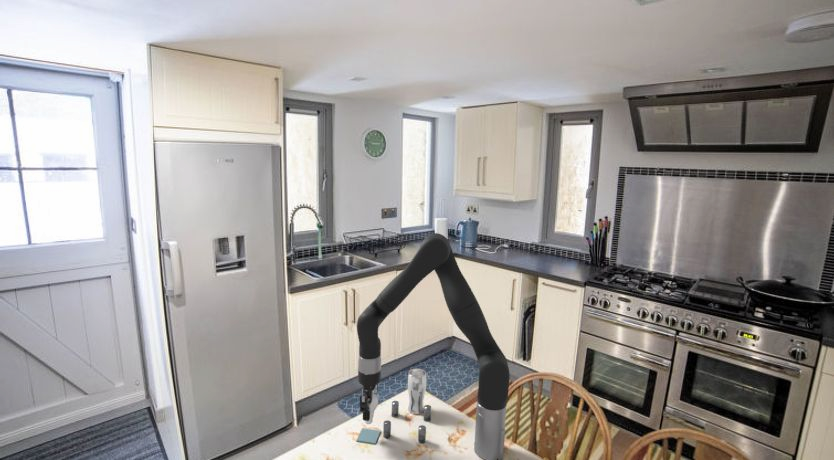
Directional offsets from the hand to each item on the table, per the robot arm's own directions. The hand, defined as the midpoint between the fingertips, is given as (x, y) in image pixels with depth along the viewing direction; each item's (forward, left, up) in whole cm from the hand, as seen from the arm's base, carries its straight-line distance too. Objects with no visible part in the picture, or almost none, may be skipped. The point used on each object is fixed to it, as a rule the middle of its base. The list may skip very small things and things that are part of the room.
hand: (368, 414), depth 136 cm
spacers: (-12, -8, -8) cm, 16 cm away
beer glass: (-13, -19, -8) cm, 24 cm away
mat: (0, 0, -8) cm, 8 cm away
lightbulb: (0, 0, -4) cm, 4 cm away
